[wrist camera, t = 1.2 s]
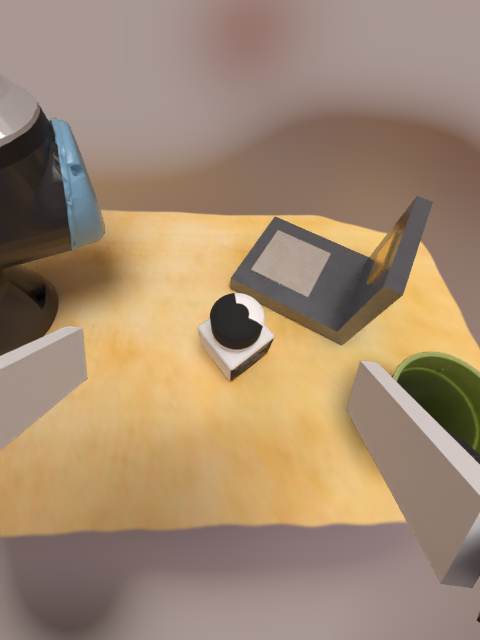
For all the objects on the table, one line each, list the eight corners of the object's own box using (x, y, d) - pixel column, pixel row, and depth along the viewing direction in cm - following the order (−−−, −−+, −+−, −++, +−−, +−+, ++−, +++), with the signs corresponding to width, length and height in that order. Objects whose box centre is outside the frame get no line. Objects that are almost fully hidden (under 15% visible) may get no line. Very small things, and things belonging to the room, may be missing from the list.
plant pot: (438, 474, 32) (536, 490, 22) (345, 460, 32) (400, 470, 22) (421, 381, 37) (494, 359, 27) (341, 370, 37) (384, 344, 27)
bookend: (230, 288, 42) (232, 217, 29) (272, 228, 49) (289, 147, 35) (341, 345, 39) (402, 295, 25) (371, 273, 45) (432, 202, 32)
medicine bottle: (230, 383, 36) (232, 358, 25) (201, 345, 38) (191, 308, 27) (267, 353, 38) (284, 318, 27) (238, 319, 40) (242, 274, 29)
